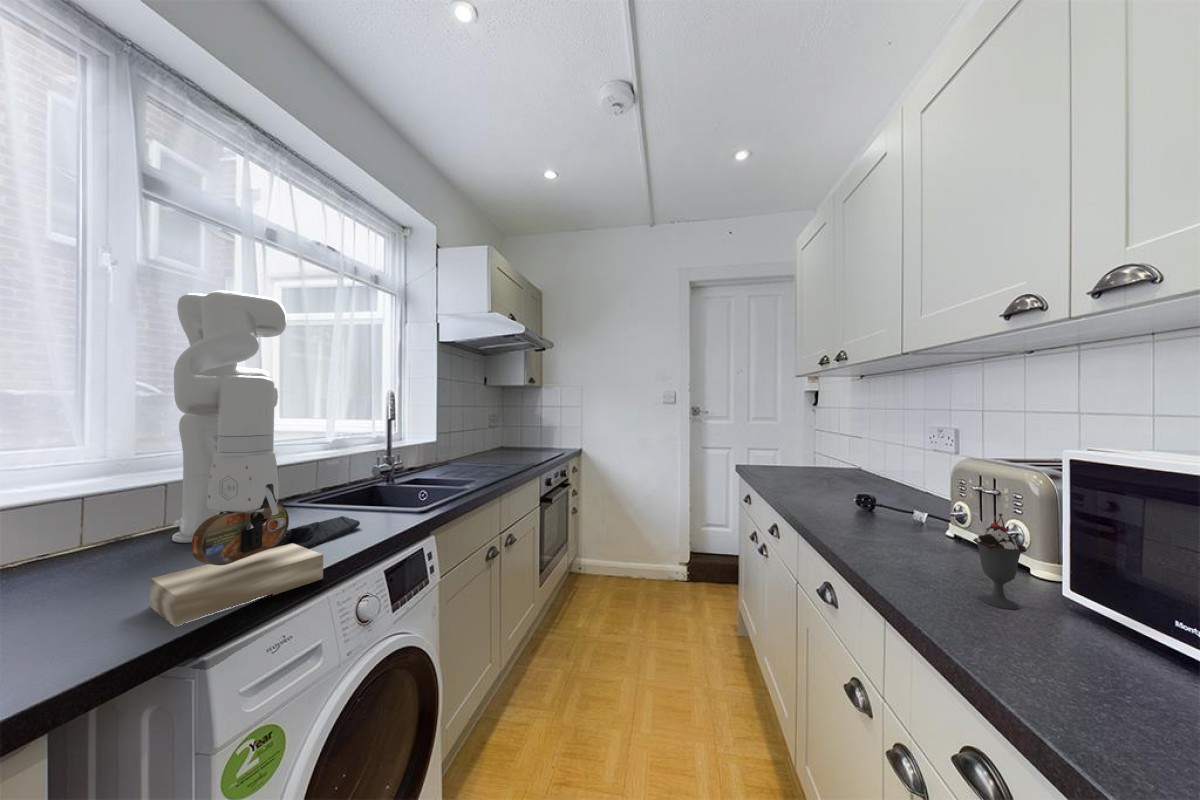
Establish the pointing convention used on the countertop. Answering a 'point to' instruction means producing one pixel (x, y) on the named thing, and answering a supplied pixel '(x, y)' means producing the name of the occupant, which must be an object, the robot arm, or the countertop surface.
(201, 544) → the tin
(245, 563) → the birch block
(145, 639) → the countertop surface
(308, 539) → the dark slate chunk
